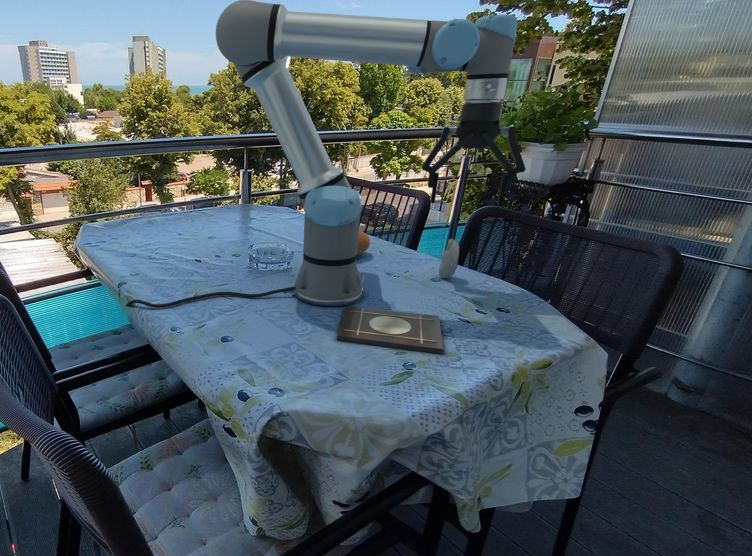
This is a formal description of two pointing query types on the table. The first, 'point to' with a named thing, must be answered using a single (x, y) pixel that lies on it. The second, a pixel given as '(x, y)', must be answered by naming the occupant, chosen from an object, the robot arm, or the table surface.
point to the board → (391, 329)
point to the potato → (362, 243)
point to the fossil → (449, 259)
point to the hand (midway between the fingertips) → (465, 203)
